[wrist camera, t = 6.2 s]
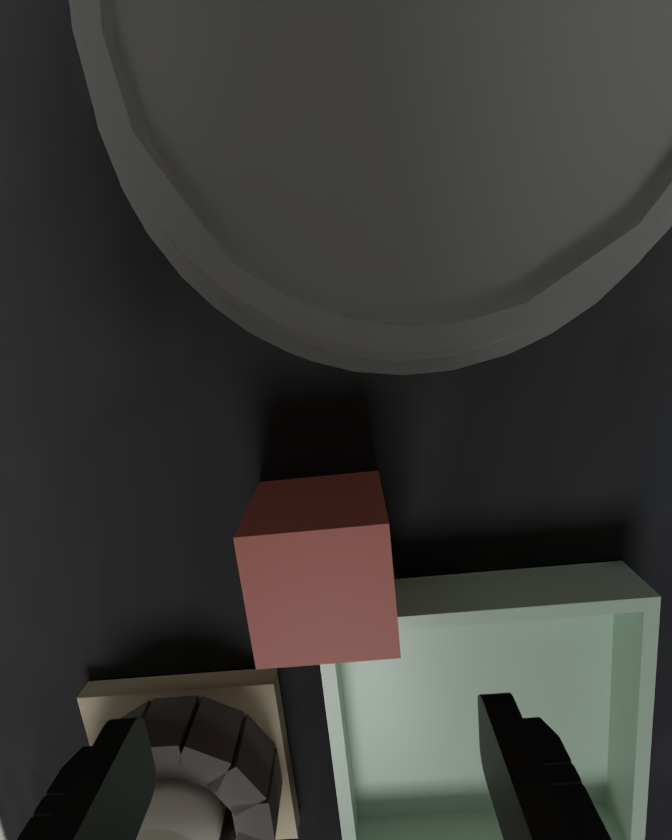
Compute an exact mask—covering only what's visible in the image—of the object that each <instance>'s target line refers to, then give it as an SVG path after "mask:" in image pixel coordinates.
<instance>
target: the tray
mask: <svg viewBox="0 0 672 840" xmlns="http://www.w3.org/2000/svg"><path fill="white" fill-rule="evenodd" d="M394 584H395V596H396V607H397V618H398V630H399V641H400V652H401V658H397V659H384V660H371V661H359V662H346V663H333V664H321V665H320V669H321V676H322V684H323V692H324V700H325V708H326V715H327V723H328V731H329V739H330V746H331V754H332V762H333V770H334V777H335V785H336V793H337V801H338V809H339V816H340V824H341V832H342V840H503V836H502V833H501V830H500V826H499V823H498V820H497V816H496V813H495V810H494V807H493V803H492V800H491V797H490V793H489V790H488V787H487V783H486V780H485V776H484V772H483V767H482V762H481V755H480V746H479V722H478V695H480V694H494V693H508V692H510V693H511V694H512V695H513V697H514V699H515V702H516V704H517V706H518V708H519V711H520V713H521V715H522V717H523V718H531V717H540V718H541V719H542V720H543V721H544V722H545V723H546V724H547V725H548V726H549V727H550V728H551V729H552V730H553V731H554V732H555V733H556V734H557V735H558V736H559V737H560V739H561V741H562V743H563V745H564V747H565V749H566V751H567V753H568V755H569V757H570V759H571V762H572V765H574V766H575V768H576V770H577V772H578V774H579V776H580V778H581V782H582V784H583V785H584V786H585V788H586V790H587V792H588V794H589V796H590V798H591V800H592V802H593V804H594V806H595V808H596V810H597V812H598V814H599V816H600V818H601V820H602V822H603V824H604V826H605V828H606V830H607V831H608V833H609V835H610V837H611V839H612V840H645V829H646V814H647V799H648V784H649V769H650V754H651V739H652V724H653V709H654V694H655V679H656V664H657V648H658V633H659V618H660V603H661V596H660V595H659V594H657V593H656V592H655V591H654V590H653V589H652V588H651V587H650V586H649V585H648V584H647V583H646V582H644V581H643V580H642V579H641V578H640V577H639V576H638V575H637V574H636V573H635V572H634V571H633V570H631V569H630V568H629V567H628V566H627V565H626V564H625V563H624V562H623V561H612V562H599V563H587V564H575V565H562V566H550V567H537V568H525V569H513V570H500V571H488V572H476V573H463V574H451V575H438V576H426V577H414V578H401V579H394Z"/></svg>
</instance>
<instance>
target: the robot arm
mask: <svg viewBox="0 0 672 840" xmlns="http://www.w3.org/2000/svg"><path fill="white" fill-rule="evenodd" d="M478 722H479V746H480V755H481V762H482V767H483V772H484V776H485V780H486V783H487V787H488V790H489V793H490V797H491V800H492V803H493V807H494V810H495V813H496V816H497V820H498V823H499V826H500V830H501V833H502V836H503V840H612V839H611V837H610V835H609V833H608V831H607V830H606V828H605V826H604V824H603V822H602V820H601V818H600V816H599V814H598V812H597V810H596V808H595V806H594V804H593V802H592V800H591V798H590V796H589V794H588V792H587V790H586V788H585V786H584V785H583V784H582V782H581V778H580V776H579V774H578V772H577V770H576V768H575V766H574V765H572V762H571V759H570V757H569V755H568V753H567V751H566V749H565V747H564V745H563V743H562V741H561V739H560V737H559V736H558V735H557V734H556V733H555V732H554V731H553V730H552V729H551V728H550V727H549V726H548V725H547V724H546V723H545V722H544V721H543V720H542V719H541V718H540V717H531V718H523V717H522V715H521V713H520V711H519V708H518V706H517V704H516V702H515V699H514V697H513V695H512V694H511V693H510V692H508V693H494V694H480V695H478ZM155 781H156V769H155V763H154V759H153V754H152V750H151V746H150V741H149V737H148V732H147V728H146V724H145V721H144V719H143V718H142V717H136V718H122V719H111V720H109V721H107V722H106V723H105V725H104V726H103V728H102V730H101V731H100V733H99V735H98V737H97V738H96V740H95V742H94V743H93V745H92V746H87V747H82V748H81V749H80V750H79V751H78V752H77V753H76V754H75V755H74V756H73V757H72V758H71V759H70V760H69V761H68V762H67V763H66V764H65V765H64V766H63V767H62V768H61V770H60V771H59V773H58V775H57V776H56V778H55V779H54V781H53V783H52V784H51V786H50V787H49V789H48V791H47V794H46V797H43V799H42V800H41V802H40V804H39V805H38V807H37V808H36V810H35V812H34V816H33V818H30V820H29V821H28V823H27V824H26V826H25V828H24V829H23V831H22V832H21V834H20V836H19V837H18V839H17V840H136V838H137V835H138V833H139V830H140V828H141V825H142V823H143V820H144V818H145V815H146V813H147V810H148V808H149V805H150V803H151V800H152V797H153V793H154V788H155Z"/></svg>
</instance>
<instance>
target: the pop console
mask: <svg viewBox="0 0 672 840" xmlns="http://www.w3.org/2000/svg"><path fill="white" fill-rule="evenodd" d="M77 701H78V705H79V708H80V712H81V715H82V719H83V723H84V726H85V730H86V734H87V737H88V741H89V744H90V746H92V745H93V743H94V742H95V740H96V738H97V737H98V735H99V733H100V731H101V730H102V728H103V726H104V725H105V723H106V722H107V721H109V720H111V719H122V718H136V717H142V718H143V719H144V721H145V724H146V728H147V732H148V737H149V741H150V746H151V750H152V754H153V759H154V763H155V769H156V779H168V778H180V779H183V780H185V781H188V782H191V783H194V784H197V785H199V786H202V787H205V788H208V789H210V790H211V791H212V792H213V793H214V794H215V795H216V796H217V797H218V798H219V799H220V800H221V801H222V802H223V803H224V804H225V805H226V806H227V808H226V812H225V817H224V821H223V825H222V830H221V834H220V838H219V840H277V839H294V838H298V831H299V819H300V815H299V809H298V802H297V796H296V789H295V783H294V776H293V770H292V763H291V757H290V750H289V744H288V737H287V731H286V724H285V718H284V711H283V705H282V698H281V692H280V685H279V679H278V673H277V668H270V669H257V670H256V669H248V670H235V671H221V672H208V673H194V674H181V675H167V676H154V677H140V678H127V679H113V680H100V681H88V683H87V684H86V686H85V687H84V689H83V690H82V691H81V693H80V694H79V696H78V697H77Z"/></svg>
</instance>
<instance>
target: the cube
mask: <svg viewBox="0 0 672 840" xmlns="http://www.w3.org/2000/svg"><path fill="white" fill-rule="evenodd" d="M233 540H234V546H235V551H236V557H237V563H238V569H239V575H240V580H241V586H242V592H243V598H244V603H245V609H246V615H247V621H248V626H249V632H250V638H251V644H252V650H253V655H254V661H255V667H256V670H257V669H270V668H283V667H295V666H308V665H321V664H333V663H346V662H359V661H371V660H384V659H397V658H401V652H400V641H399V630H398V618H397V607H396V596H395V584H394V573H393V562H392V550H391V539H390V528H389V520H388V516H387V511H386V506H385V501H384V496H383V491H382V486H381V481H380V476H379V472H378V471H369V472H358V473H348V474H337V475H327V476H316V477H306V478H295V479H285V480H275V481H264V482H260V483H259V485H258V487H257V489H256V491H255V493H254V495H253V497H252V499H251V501H250V503H249V506H248V508H247V510H246V512H245V514H244V516H243V518H242V520H241V522H240V524H239V527H238V529H237V531H236V533H235V535H234V537H233Z"/></svg>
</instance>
